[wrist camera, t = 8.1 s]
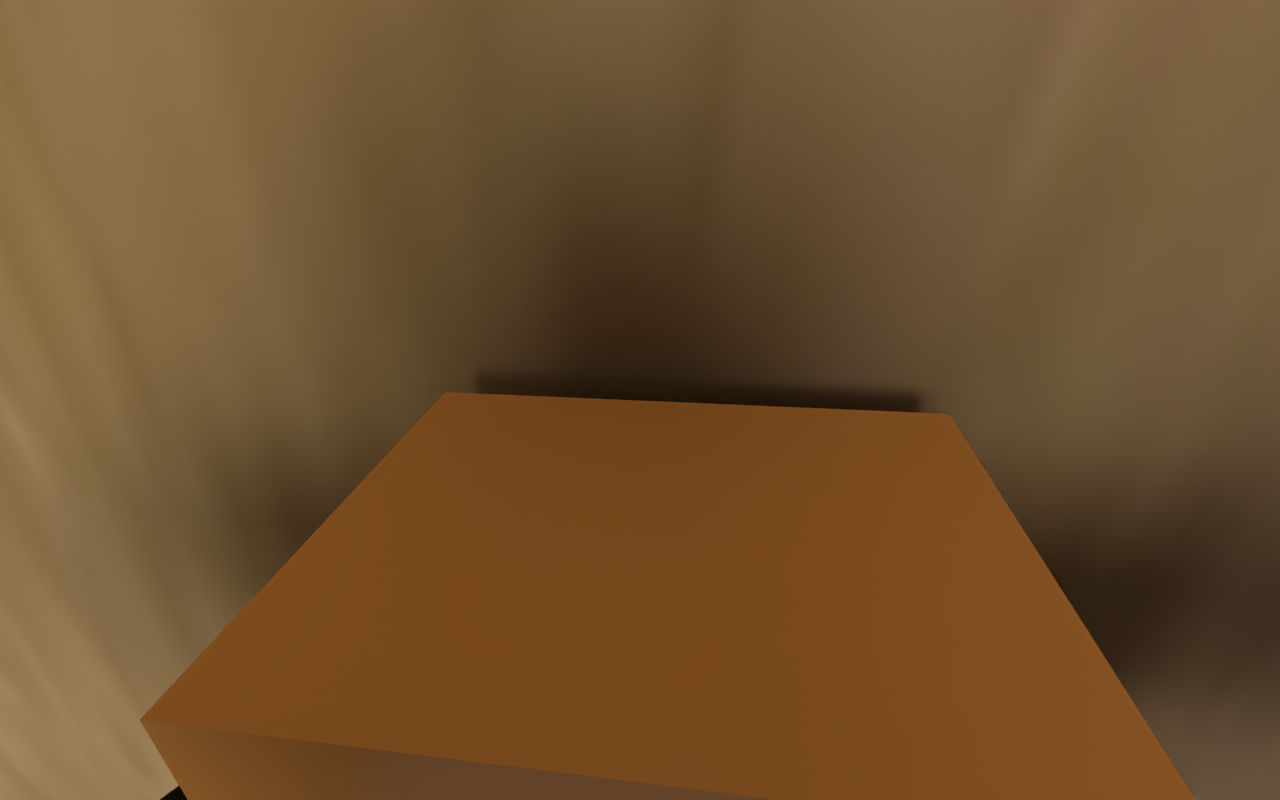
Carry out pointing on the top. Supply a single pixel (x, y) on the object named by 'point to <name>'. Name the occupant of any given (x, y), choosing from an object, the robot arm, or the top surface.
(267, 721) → the cap
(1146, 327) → the top surface
